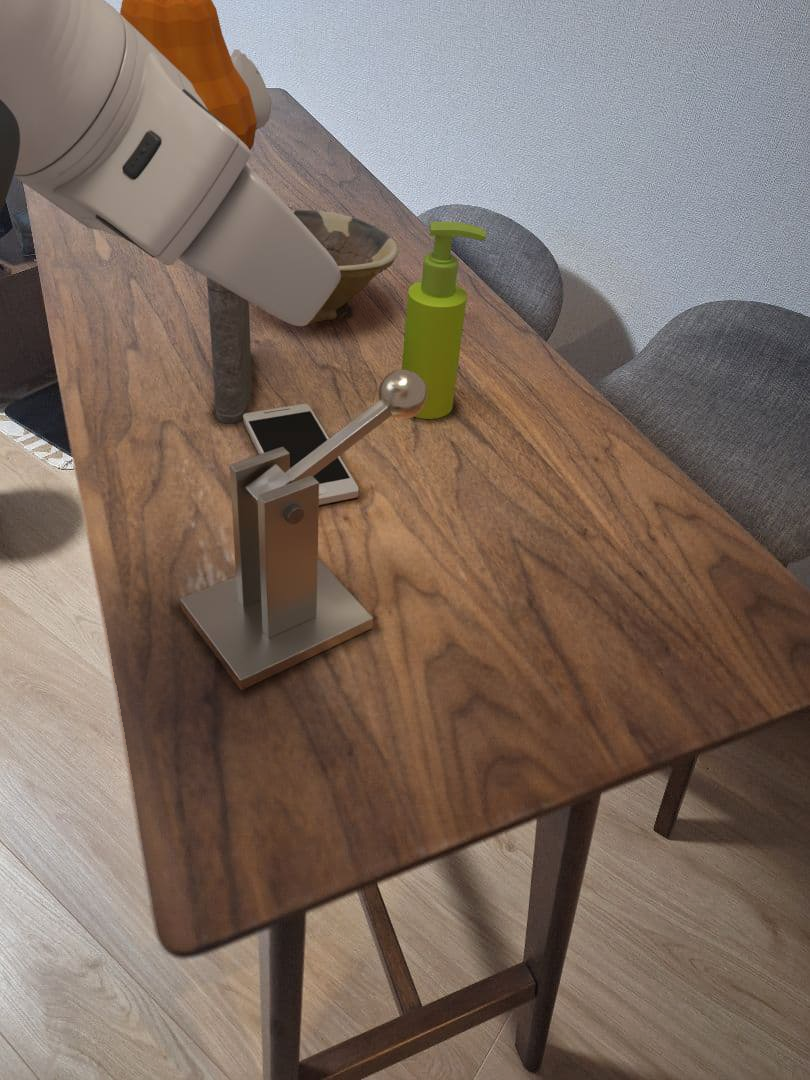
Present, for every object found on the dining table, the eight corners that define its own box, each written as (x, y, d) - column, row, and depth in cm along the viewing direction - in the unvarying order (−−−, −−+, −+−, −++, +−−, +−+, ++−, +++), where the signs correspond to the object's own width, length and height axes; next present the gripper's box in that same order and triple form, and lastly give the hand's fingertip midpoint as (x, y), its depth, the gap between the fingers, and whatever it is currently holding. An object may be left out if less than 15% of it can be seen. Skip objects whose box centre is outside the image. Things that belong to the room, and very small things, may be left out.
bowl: (375, 355, 106) (380, 278, 100) (228, 329, 108) (223, 252, 102) (406, 290, 119) (412, 218, 113) (273, 268, 121) (272, 196, 115)
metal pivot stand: (307, 556, 80) (309, 414, 70) (372, 628, 74) (384, 484, 64) (181, 609, 74) (163, 462, 64) (241, 690, 68) (231, 543, 58)
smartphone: (287, 511, 84) (287, 503, 83) (241, 420, 94) (241, 412, 94) (360, 497, 86) (360, 489, 86) (307, 409, 97) (307, 402, 96)
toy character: (281, 132, 161) (280, 58, 154) (225, 137, 157) (221, 61, 149) (259, 114, 168) (257, 42, 160) (204, 118, 164) (199, 44, 156)
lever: (413, 385, 70) (400, 352, 67) (441, 407, 68) (430, 374, 65) (256, 505, 68) (236, 476, 65) (280, 533, 65) (261, 504, 63)
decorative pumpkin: (90, 152, 147) (58, -69, 127) (233, 142, 156) (224, -66, 136) (121, 208, 132) (90, -33, 112) (278, 194, 140) (275, -33, 120)
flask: (255, 352, 105) (249, 196, 93) (251, 424, 94) (245, 258, 82) (222, 352, 104) (213, 195, 92) (215, 423, 94) (203, 256, 82)
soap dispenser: (462, 421, 97) (488, 241, 84) (398, 417, 97) (413, 235, 84) (461, 392, 102) (485, 216, 89) (399, 387, 101) (414, 210, 88)
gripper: (-1, 120, 51) (178, 252, 62) (161, 265, 39) (347, 396, 50) (63, 23, 50) (233, 175, 61) (249, 141, 38) (418, 303, 49)
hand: (286, 276), depth 55 cm, fingers closed
